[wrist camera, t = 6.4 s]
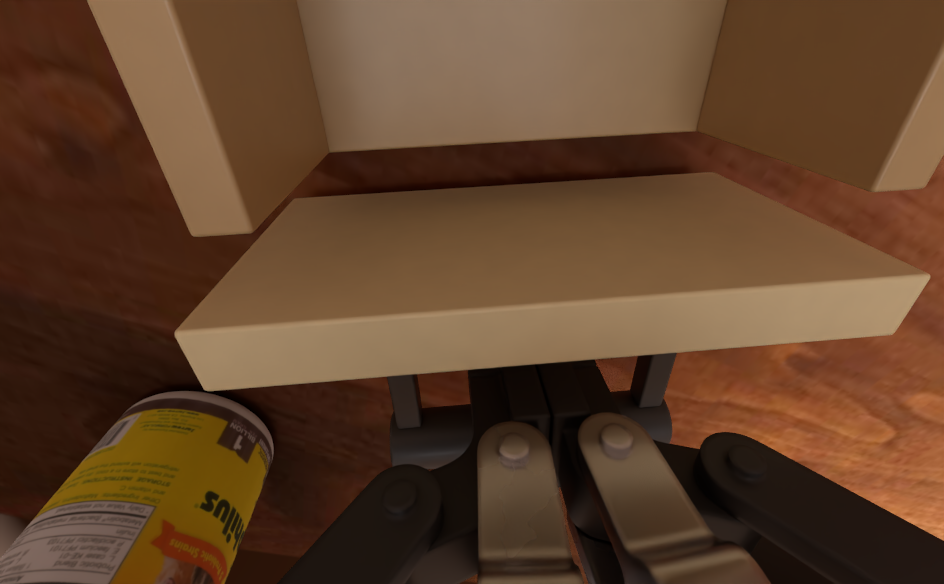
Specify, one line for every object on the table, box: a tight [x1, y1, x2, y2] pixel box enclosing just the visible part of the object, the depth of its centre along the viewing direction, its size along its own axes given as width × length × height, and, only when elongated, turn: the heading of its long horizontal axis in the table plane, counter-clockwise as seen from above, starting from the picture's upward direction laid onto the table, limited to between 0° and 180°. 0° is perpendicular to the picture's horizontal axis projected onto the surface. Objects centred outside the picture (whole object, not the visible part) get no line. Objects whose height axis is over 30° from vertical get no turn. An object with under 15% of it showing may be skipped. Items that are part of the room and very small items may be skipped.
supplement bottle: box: [0, 391, 274, 584], centre depth 12 cm, size 6×6×10 cm
